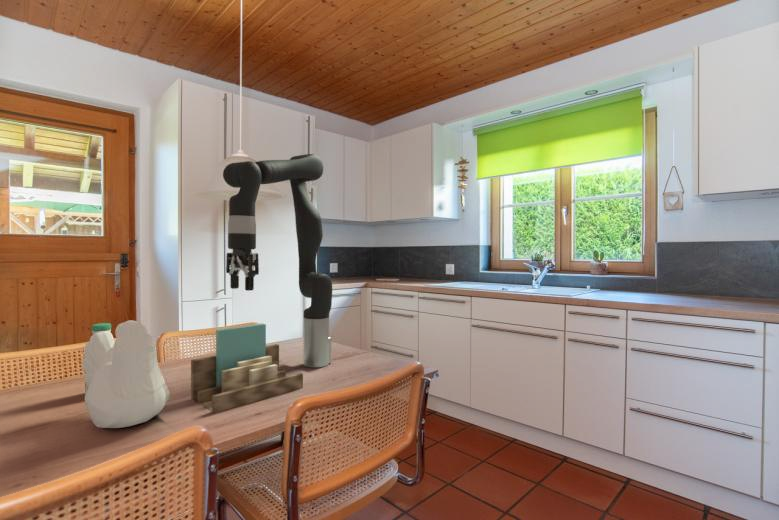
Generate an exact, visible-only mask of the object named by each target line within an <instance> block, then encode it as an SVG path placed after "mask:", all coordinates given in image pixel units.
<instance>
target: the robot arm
mask: <svg viewBox="0 0 779 520" xmlns="http://www.w3.org/2000/svg"><path fill="white" fill-rule="evenodd" d="M323 174H324V163H323V161H322V159H321V158H320V157H319V155H317V154H314V153H308V154H300V155H294V156H292V157H290V158H289V159H269V160H267V159H266V160H265V159H264V160H257V161H250V160H249V161H238V162H231V163H229V164H227V165H226V166H225V167H224V169H223V172H222V178H223V180H224V181H225V183H226V184H227V185H228V186H229V187H232V188H235V189H236V188H237V189H238V193H237V194H235V195H234V194H233V195H232V196H230V198H229V201H228V220H227V221H228V223H227V248H228V249H229V250H232V252H227V253H226V262H225V263H226V264H225V265H226V268H225V271H226V274H228V275H229V276H230V289H234V290H236V289H239V287H240V285H239V284H240V283H239V282H240V276H239V274H240V272H241V271H242V272H243V273H244V276H245V277H244V290H245V291H254V288H255V287H254V285H255V283H254V281H255V280H254V279H255V277H256V275H259V274H260V273H259V272H260V271H259V269H260V267H259V263H260V262H259V253H258V252H252V250H256V247H257V221H256V202H257V198H258V195H259V191H260V188H261V185H269V184H275V183H277V184H278V183H281V182H285V181H289V183H290V189H291V193H292V198H293V207H294V216H295V217H294V218H295V229H296V230H295V232H296V240H297V249H298V250H297V251H298V252H297V254H298V287H299V291H300V293H301V295H302V296H303V297H304V298H307V299H311V303H310V306H309V307H307V308H305V309H304V310H303V350H302V351H303V355H302V356H303V361H302V363H303V366H304V367H306V368H322V367H327V366H328V365H329V363H330V364H332V337H330V312H331V310H332V301H333V282H332V278H331V277H330V276H329V275H328V274H325V273H322V272H321V273H320V272H317V261H316V260H317V254H318V252H319V249H320V247H321V244H322V241H323V236H324V235H323V233H324V232H323V221H322V217H321V214H320V213H319V211H318V210H317V208H316V207H315V205H314V203H313V202H312V200H311V199H310V197H309V194H308V189H307V182H314V181H317V180H319V179H320V178H321V177H322V176H323Z"/></svg>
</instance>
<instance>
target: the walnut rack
mask: <svg viewBox="0 0 779 520" xmlns="http://www.w3.org/2000/svg"><path fill="white" fill-rule="evenodd" d="M266 356H272V365H274V364H275V365H277V379H274V380H270V381H266V382H262V383H259V384H255V385H251V386H247V387H243V388H239V389H235V390H231V391H227V392H224V393H222V386H218V387H216V354H214V355H211V356H206V357H200V358H194V359H190V399H191V400H192V401H194V402H195V403H196V404H198V405H200V406H202V407H203V408H205V409H207V410H208V411H210V412H212V413H213V414H218V413H221V412H224V411H227V410H231V409H234V408H238V407H242V406H246V405H248V404H252V403H256V402H259V401H262V400H266V399H270V398H272V397H275V396H276V397H277V396H278V395H283V394H286V393H290V392H293V391H296V390H300V389H303V388H304V387H303V386H304V375H303V373H301V372H298V373H294V374H290V375H286V370H280V344H277V343H276V344H275V343H274V344H270V345H266Z"/></svg>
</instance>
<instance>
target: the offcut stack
mask: <svg viewBox="0 0 779 520" xmlns="http://www.w3.org/2000/svg"><path fill="white" fill-rule="evenodd" d="M274 379H277V365H275V364H274V365H272V356H264V357H260V358H255V359H250V360H245V361H240V362H237V368H232V369H227V370H223V371H222V393H224V392H227V391H231V390H235V389H239V388H243V387H247V386H251V385H255V384H259V383H262V382H266V381H270V380H274Z"/></svg>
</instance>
